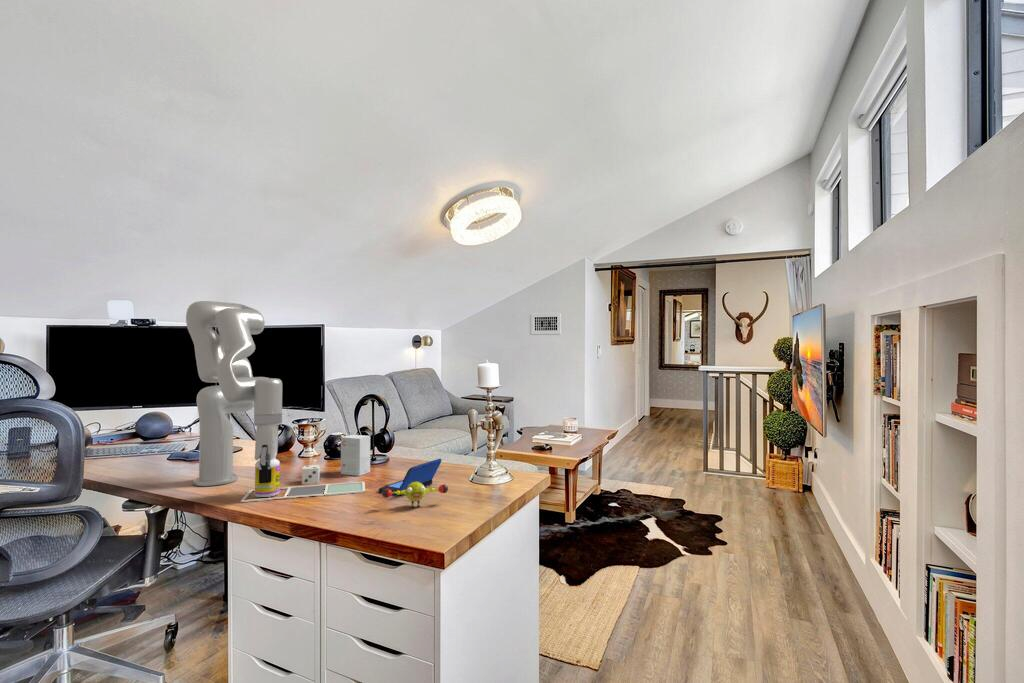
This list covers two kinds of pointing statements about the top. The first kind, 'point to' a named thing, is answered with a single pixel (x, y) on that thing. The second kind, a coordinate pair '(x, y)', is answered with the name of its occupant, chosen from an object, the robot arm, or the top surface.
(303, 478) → the die
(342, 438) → the small box
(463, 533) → the top surface
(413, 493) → the toy figure
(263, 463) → the robot arm
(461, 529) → the top surface
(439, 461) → the handheld game console
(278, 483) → the supplement bottle
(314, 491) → the board
